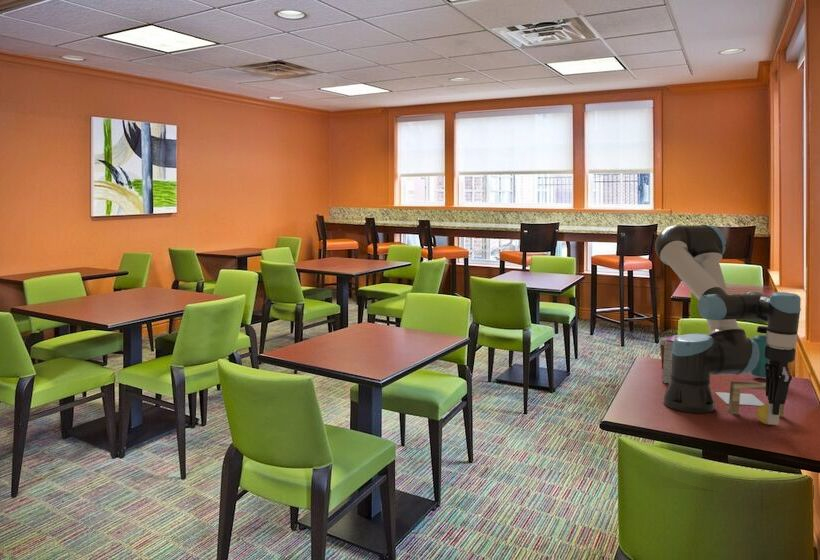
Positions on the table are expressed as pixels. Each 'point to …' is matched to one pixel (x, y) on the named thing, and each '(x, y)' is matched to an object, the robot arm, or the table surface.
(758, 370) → the beverage bottle
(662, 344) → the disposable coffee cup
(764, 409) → the ball
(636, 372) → the table surface
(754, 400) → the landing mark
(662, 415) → the table surface
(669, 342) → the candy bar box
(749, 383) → the bridge
